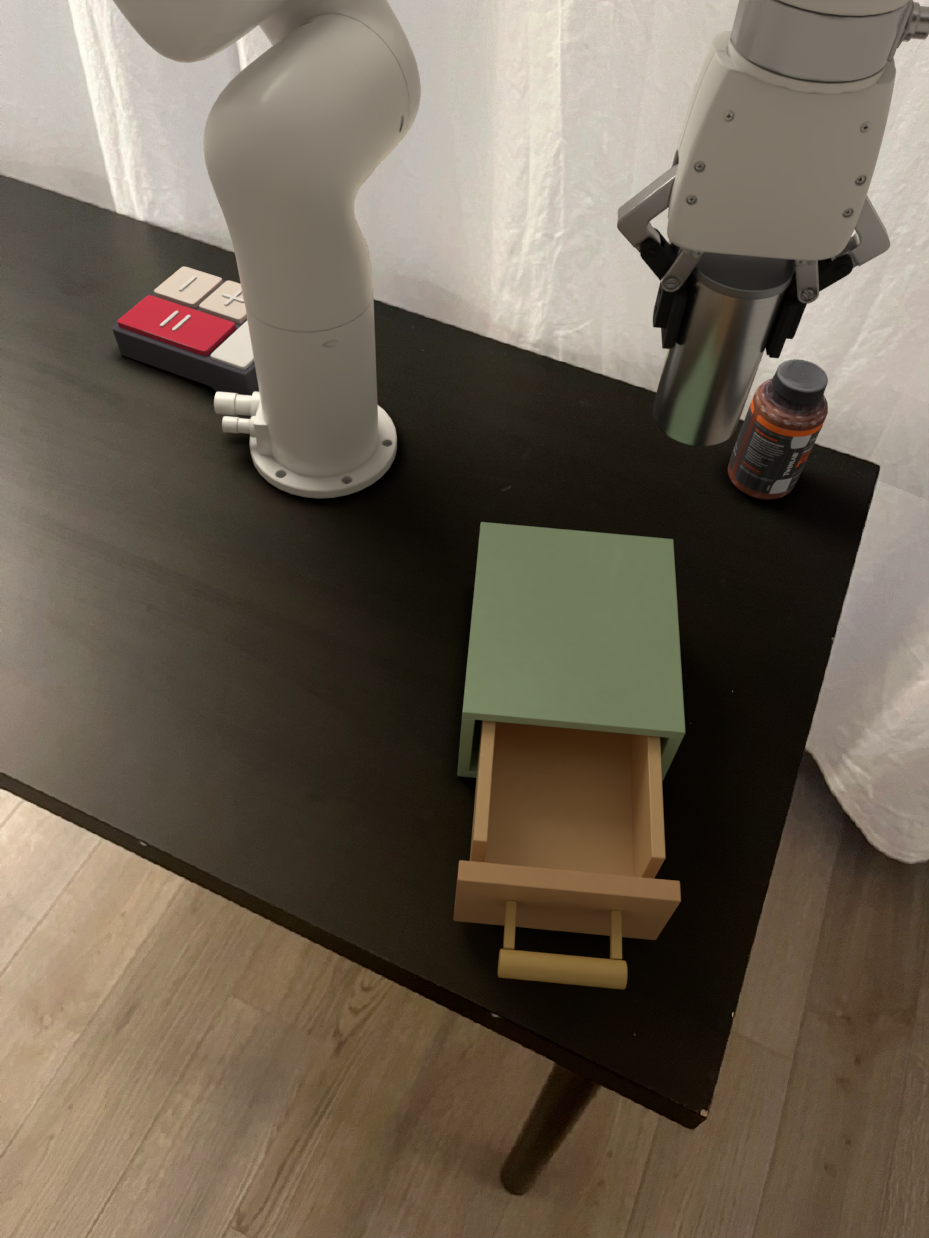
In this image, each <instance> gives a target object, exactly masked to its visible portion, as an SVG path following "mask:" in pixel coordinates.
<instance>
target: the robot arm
mask: <svg viewBox="0 0 929 1238" xmlns="http://www.w3.org/2000/svg"><path fill="white" fill-rule="evenodd" d="M112 1H113V3H114V4H115V6H116V7H117V9H118V10H119V11H120V13H121V14H122V16H124V18H125V19H126V20H127V22H128V23H129V24H130V26H131V27H132V29H134V31H135V32H136V33H137V34H138V35H139V36H140V38H141V39H142V40H143V41H144V42H145V43H146V44H147V45H148V46H149V47H150V48H151V49H153V51H155V52H157V53H158V55H161V56H162V57H164V58H166V59H168V60H172V61H174V62H177V63H183V64H190V63H191V64H192V63H196V62H201V61H205V60H208V59H210V58H211V57H214V56H215V55H217V54H219V53H221V52H222V51H224V50H226V49H227V48H229V47H231V46H232V45H234V44H235V43H237V42H239V40H242V38H243V37H245V36H246V35H248V34H249V33H250V32H252V31H253V30H254V29H255V28H257V27H258V26H259V28H260V30H261V31H262V32H263V34H264V35H265V37H266V38H267V39H268V41H269V42H270V44H271V46H270V47H269V48H268V49H267V50H266V51H264V52H262V54H260V55H259V56H258V57H256V58H255V59H254V60H253V61H251V62H250V63H249V64H248V65H246V66H245V67H244V68H243V69H242V70H241V71H240V72H239V73H237V74H236V75H235V76H234V77H233V78H232V79H231V80H230V81H229V82H228V83H227V84H226V86H225V87H224V89H223V90H222V91H221V92H220V93H219V95H218V96H217V98H216V99H215V102H213V104H212V106H211V109H210V111H209V113H208V116H207V119H206V120H205V121H206V122H205V126H204V129H203V137H202V138H203V139H202V152H203V159H204V160H203V161H204V164H205V168H206V173H207V175H208V178H209V181H210V183H211V186H212V190H213V192H214V195H215V197H216V199H217V202H218V204H219V207H220V210H221V212H222V214H223V218H224V220H225V223H226V226H227V230H228V231H229V232H228V233H229V236H230V241H231V243H232V248H233V251H234V256H235V261H236V265H237V272H238V276H239V277H238V278H239V282H240V283H239V284H241V289H242V295H243V300H244V303H245V309H246V315H247V321H248V327H249V333H250V339H251V345H252V351H253V357H254V363H255V369H256V375H257V381H258V387H259V392H256V391H254V392H253V394H252V396H249V395H239V394H238V393H229V392H216V391H215V395H214V397H213V398H214V399H213V409H214V413H215V414H216V415H221V416H222V421H221V431H222V433H227V434H228V433H229V434H247V435H249V443H248V444H249V450H250V451H249V452H250V456H251V460H252V463H253V466H254V468H255V469H256V470H257V472H258V473H259V475H260V476H261V477H262V478H263V479H264V480H265V481H266V482H267V483H269V484H270V485H271V486H273V487H275V488H276V489H278V490H280V491H283V492H285V493H287V494H290V495H294V496H299V497H301V498H310V499H335V498H338V497H339V498H341V497H344V496H345V497H346V496H348V495H352V494H354V493H358V492H360V491H362V490H365V489H366V488H368V487H370V486H372V485H373V484H375V483H376V482H377V481H379V480H380V479H381V478H382V477H383V476H384V475H385V474H386V473H387V472H388V471H389V470H390V469H391V467H392V464H393V462H394V460H395V459H396V455H397V450H398V436H397V429H396V426H395V424H394V422H393V419H392V418H391V416H390V415H389V413H387V412H386V410H385V409H384V408H383V407H381V406H380V405H379V404H378V381H377V356H376V355H377V354H376V329H375V326H376V325H375V303H374V287H373V286H374V284H373V282H374V281H373V267H372V266H373V265H372V258H371V253H370V249H369V245H368V242H367V239H366V238H365V235H364V233H363V232H362V230H361V227H360V225H359V223H358V221H357V217H356V213H355V212H356V211H355V204H356V199H357V195H358V193H359V191H360V189H361V188H362V186H363V185H364V183H366V181H367V180H368V179H369V178H370V177H371V176H372V175H373V174H374V172H375V170H376V169H377V168H378V167H379V166H380V165H381V163H382V162H384V161H385V160H386V158H387V157H388V156H389V155H390V154H391V153H392V152H393V151H394V150H395V148H397V146H398V145H399V144H400V143H401V142H402V141H403V139H404V138H406V135H407V134H408V133H409V131H410V130H411V128H412V127H413V124H414V122H415V121H416V118H417V116H418V113H419V109H420V104H421V103H420V102H421V95H422V88H421V87H422V86H421V76H420V72H419V71H420V70H419V67H418V63H417V60H416V56H415V53H414V51H413V49H412V46H411V44H410V42H409V38H408V37H407V35H406V33H405V30H404V29H403V27H402V25H401V23H400V21H399V19H398V18H397V16H396V14H395V12H394V10H393V9H392V7H391V5H390V3H389V1H388V0H112ZM731 28H732V29H731V30H724V31H721V32H719V33H718V34H715V36H714V37H713V38H712V41H711V43H710V45H709V47H708V49H707V50H706V54H705V56H704V58H703V60H702V63H701V66H700V67H699V71H698V73H697V76H696V79H695V82H694V85H693V87H692V90H691V93H690V96H689V99H688V103H687V105H686V108H685V112H684V115H683V118H682V121H681V125H680V127H679V131H678V135H677V139H676V143H675V145H674V149H673V153H672V156H671V160H670V164H669V168H668V170H666V171H665V172H663V173H662V174H661V175H660V176H658V177H657V178H656V179H654V180H653V181H652V182H650V184H648V185H647V186H645V187H644V188H643V189H642V190H640V191H638V193H636V194H635V195H634V196H633V197H631V198H630V199H629V200H627V201H626V202H625V203H624V204H623V205H621V206H619V208H618V209H617V211H616V228H617V229H618V231H619V233H621V235H622V236H623V237H624V238H625V239H626V241H628V242H629V244H630V245H631V246H632V247H633V248H635V249H636V251H637V252H638V253H639V255H640V258H641V260H642V261H644V263H645V264H646V266H648V268H649V269H650V270H651V272H652V273H653V274H654V275H655V277H657V279H658V280H659V281H660V282H659V285H658V290H657V294H656V298H655V303H654V307H653V311H652V327H653V328H655V329H656V328H657V329H660V334H661V349H662V350H663V349H664V350H668V349H671V348H672V347H675V344H676V340H677V336H678V332H679V329H680V325H681V321H682V317H683V314H684V310H685V306H686V302H687V297H688V293H687V285H686V279H687V278H688V276H689V275H690V274H691V272H692V271H693V269H694V268H695V267H696V265H697V264H698V262H699V261H700V260H701V258H702V257H703V256H704V254H705V253H706V252H707V253H718V254H729V255H740V256H752V257H765V258H777V259H790V260H793V262H794V267H795V271H794V275H793V278H792V280H791V283H790V285H789V286H788V287H787V289H786V292H785V295H784V297H783V300H782V303H781V306H780V309H779V311H778V314H777V317H776V320H775V322H774V325H773V328H772V331H771V334H770V336H769V339H768V342H767V345H766V348H765V354H766V356H768V357H769V359H779V358H780V356H781V355H782V352H783V348H784V346H785V343H786V341H787V340H793V339H794V338H795V336H796V334H797V331H798V328H799V325H800V322H801V321H802V318H803V315H804V313H805V310H806V307H807V304H809V305H810V304H812V303H813V302H815V301H816V300H818V299H819V295H820V292H821V291H823V290H825V289H827V288H828V287H830V286H832V285H834V284H836V283H838V282H839V281H840V280H842V279H844V278H846V277H847V276H849V275H850V274H851V273H852V272H853V270H854V268H856V267H861V266H863V265H864V264H866V263H868V262H870V261H872V260H874V259H875V258H877V257H879V256H881V255H882V254H885V253H886V252H887V251H889V249H890V248H891V241H890V237H889V235H888V231H887V227H886V226H885V225H884V222H883V221H882V219H881V217H880V216H879V214H878V212H877V210H876V209H875V207H874V205H873V202H872V201H871V199H870V198H869V196H868V192H869V189H870V186H871V182H872V179H873V176H874V173H875V170H876V166H877V163H878V159H879V155H880V151H881V148H882V147H881V146H882V143H883V139H884V135H885V131H886V127H887V122H888V118H889V115H890V114H889V113H890V109H891V105H892V99H893V93H894V87H895V82H896V75H897V69H896V61H895V59H894V57H895V54H896V52H897V49H899V48H900V47H901V45H902V43H903V42H905V43H908V42H910V41H911V40H918V41H919V40H920V41H925V40H926V39H927V38H928V37H929V6H923V5H921V4H920V3H919V2H918V1H914V0H738V4H737V9H736V12H735V16H734V20H733V24H732V27H731ZM667 209H668V210H667ZM666 210H667V211H668V212H667V228H666V235H667V238H668V240H667V239H666V238H665V237H664V236H663V234H662V233H661V232H660V230H658V228H657V227H654V226H653V225H652V222H651V221H652V220H654V219H655V218H657V217H658V215H660V214H662V213H663V212H665V211H666ZM854 231H855V233H854ZM853 233H854V234H853ZM238 416H247V417H250V418H243V417H242V418H241V417H238Z"/></svg>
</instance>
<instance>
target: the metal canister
mask: <svg viewBox="0 0 929 1238" xmlns="http://www.w3.org/2000/svg"><path fill="white" fill-rule="evenodd" d="M794 271H795V267H794V262H793V260H790V259H777V258H765V257H752V256H740V255H729V254H718V253H707V252H706V253H705V254H704V256H703V257H702V258H701V260H700V261H699V262H698V264H697V265H696V267H695V268H694V269H693V271H692V272H691V274H690V275H689V276H688V278H687V279H686V285H687V293H688V297H687V302H686V306H685V310H684V314H683V317H682V321H681V325H680V329H679V332H678V336H677V340H676V344H675V347H672V348H671V349H666V354H665V357H664V362H663V366H662V370H661V373H660V378H659V380H658V381H659V382H658V386H657V389H656V393H655V397H654V400H653V404H652V409H651V414H652V415H651V416H652V418H653V422H654V423H655V425H656V427H657V428H658V429H659V430H660V431H661V432H662V433H663V434H664V435H666V436H667V437H669V438H670V439H672V440H674V441H676V442H679V443H680V444H684V445H688V446H692V447H694V446H695V447H712V446H716V445H720V444H722V443H724V442H726V441H728V440H729V439H730V438H731V437H733V435H734V434H735V432H736V430H737V428H738V425H739V422H740V419H741V416H742V414H743V412H744V408H745V407H746V403H747V400H748V397H749V395H750V392H751V389H752V386H753V383H754V381H755V378H756V375H757V372H758V369H759V367H760V364H761V362H762V358H763V355H764V353H765V351H766V345H767V342H768V339H769V336H770V334H771V331H772V328H773V325H774V322H775V320H776V317H777V314H778V311H779V309H780V306H781V303H782V300H783V297H784V295H785V292H786V289H787V287H788V286H789V285H790V283H791V280H792V278H793V275H794Z"/></svg>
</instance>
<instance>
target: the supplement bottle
mask: <svg viewBox="0 0 929 1238" xmlns="http://www.w3.org/2000/svg"><path fill="white" fill-rule="evenodd" d="M828 382H829V378H828V375H827V373H826V371H825V370H824V369H823V368H822V367H820V366H819V365H818V364H817V363H815V362H812V361H808V360H805V359H797V358H795V359H794V358H793V359H787V360H784V361H783V362H781V363H780V364H779V365H778V366H777V367H776V370H775V373H774V374H773V376H772V377H771V378H769V379H767V380H765V381H763V382H762V383H761V384H759V386H758V387H757V388H756V390H755V391H754V394H753V396H752V399H751V401H750V404H749V407H748V409H747V412H746V414H745V417H744V420H743V423H742V426H741V428H740V430H739V432H738V436H737V439H736V441H735V445H734V447H733V450H732V452H731V455H730V457H729V463H728V466H727V475H728V477H729V480H730V481H731V483H732V484H733V486H734V487H735V488H737V489H738V490H739V491H740V492H742V493H744V494H745V495H747V496H749V497H752V498H755V499H759V500H770V501H771V500H778V499H780V498H781V499H782V498H784V497H786V496H787V495H788V494H789V493H791V492H792V490H793V489H794V488H795V485H796V484H797V482H798V480H799V478H800V476H801V474H802V473H803V470H804V468H805V466H806V463H807V460H808V458H809V457H810V454H811V452H812V450H813V448H814V445H815V443H816V441H817V439H818V437H819V434H820V432H821V431H822V429H823V426H824V423H825V421H826V419H827V416H828V414H829V406H828V405H829V404H828V400H827V398H826V395H825V391H826V388H827V386H828V384H829V383H828Z"/></svg>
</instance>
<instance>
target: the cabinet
mask: <svg viewBox="0 0 929 1238" xmlns="http://www.w3.org/2000/svg"><path fill="white" fill-rule="evenodd" d="M478 534H479V535H478V545H477V546H478V547H477V556H476V557H477V558H476V567H475V576H474V577H475V578H474V586H473V587H474V590H473V598H472V608H471V619H470V628H469V630H470V631H469V640H468V649H467V651H468V652H467V659H466V661H467V662H466V670H465V671H466V672H465V682H464V693H463V704H462V711H461V713H462V714H461V725H460V735H459V736H460V737H459V749H458V750H459V751H458V761H457V762H458V763H457V773H456V775H457V777H463V778H474V779H477V766H478V754H479V742H480V730H481V720H485V721H495V722H506V723H517V724H528V725H538V726H549V727H560V728H571V729H582V730H592V731H603V732H614V733H625V734H635V735H646V736H657V737H660V746H661V769H662V783H663V782H664V780H665V777H666V775H667V773H668V771H669V769H670V766H671V764H672V762H673V760H674V758H675V756H676V754H677V752H678V750H679V747H680V745H681V744H682V741H683V739H684V737H685V735H686V720H685V719H686V718H685V704H684V689H683V673H682V671H683V670H682V658H681V657H682V656H681V655H682V654H681V642H680V641H681V640H680V625H679V610H678V608H679V607H678V593H677V592H678V591H677V577H676V564H675V561H676V560H675V544H674V539H673V538H662V537H653V536H642V535H641V536H640V535H631V534H630V535H629V534H620V533H619V534H618V533H608V532H596V531H587V530H586V531H585V530H574V529H563V528H553V527H540V526H529V525H519V524H510V523H509V524H507V523H496V522H485V521H481V522H480V526H479V533H478Z"/></svg>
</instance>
